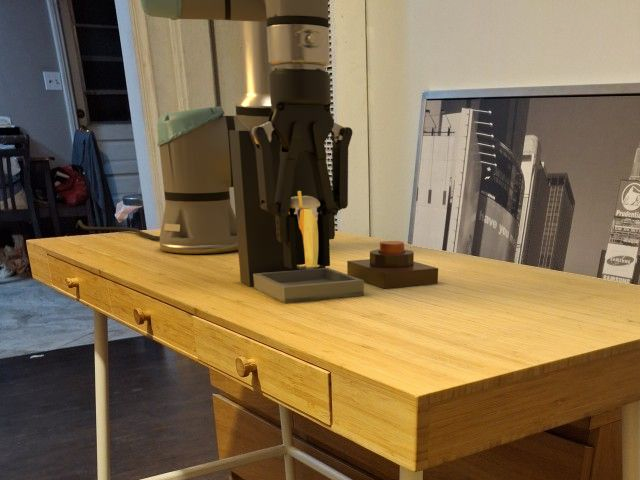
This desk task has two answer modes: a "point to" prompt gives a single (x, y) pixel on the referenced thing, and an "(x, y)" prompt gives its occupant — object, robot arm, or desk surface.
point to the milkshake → (306, 230)
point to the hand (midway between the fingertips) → (307, 265)
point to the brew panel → (392, 270)
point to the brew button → (392, 247)
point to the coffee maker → (260, 232)
